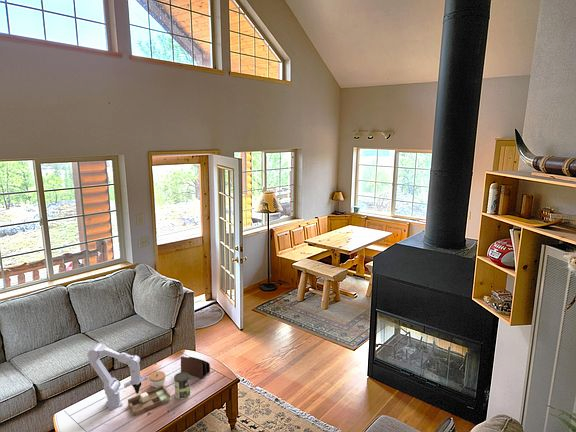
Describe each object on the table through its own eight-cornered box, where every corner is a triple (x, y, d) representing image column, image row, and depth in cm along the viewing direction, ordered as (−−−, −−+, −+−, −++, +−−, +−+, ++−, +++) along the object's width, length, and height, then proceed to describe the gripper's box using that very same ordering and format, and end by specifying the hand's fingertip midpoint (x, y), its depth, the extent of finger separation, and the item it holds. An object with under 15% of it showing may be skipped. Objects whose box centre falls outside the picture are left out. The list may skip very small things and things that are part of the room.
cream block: (140, 399, 258) (140, 394, 257) (146, 397, 261) (145, 391, 260) (143, 402, 255) (142, 397, 255) (148, 399, 258) (148, 394, 257)
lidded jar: (163, 390, 272) (162, 378, 270) (147, 390, 272) (146, 378, 270) (167, 380, 282) (166, 369, 280) (152, 380, 282) (152, 369, 280)
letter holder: (202, 379, 284) (201, 362, 281) (180, 372, 292) (179, 355, 289) (210, 372, 293) (209, 355, 290) (189, 365, 301) (188, 349, 297)
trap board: (128, 405, 256) (127, 399, 255) (163, 391, 271) (163, 385, 270) (134, 415, 247) (133, 409, 246) (170, 400, 262) (169, 394, 261)
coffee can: (192, 390, 272) (192, 372, 269) (186, 400, 262) (185, 382, 259) (179, 388, 274) (178, 370, 270) (172, 398, 264) (171, 380, 261)
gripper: (125, 381, 244) (127, 400, 247) (148, 373, 253) (150, 391, 256) (122, 376, 250) (124, 394, 253) (145, 368, 259) (146, 385, 262)
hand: (137, 392), depth 255 cm, fingers closed
